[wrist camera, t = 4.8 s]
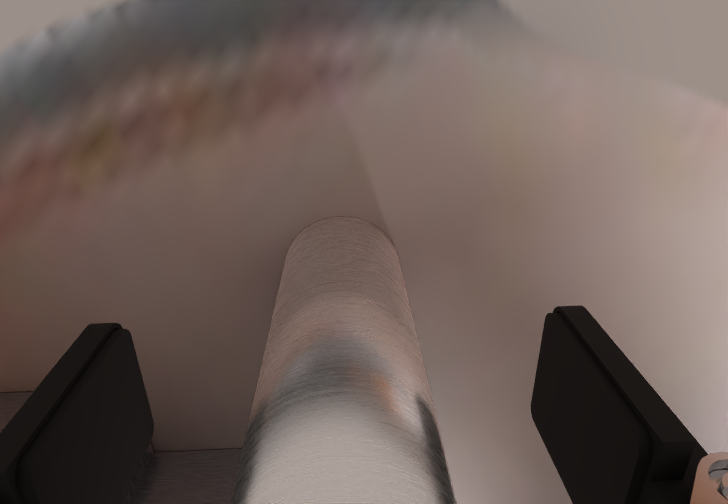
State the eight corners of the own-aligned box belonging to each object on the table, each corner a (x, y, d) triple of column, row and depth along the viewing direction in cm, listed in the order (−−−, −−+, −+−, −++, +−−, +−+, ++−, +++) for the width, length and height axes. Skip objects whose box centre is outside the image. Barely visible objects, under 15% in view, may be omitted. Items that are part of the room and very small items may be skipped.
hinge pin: (399, 215, 15) (557, 736, 4) (398, 316, 16) (509, 890, 6) (279, 218, 15) (115, 764, 4) (289, 320, 16) (189, 913, 6)
